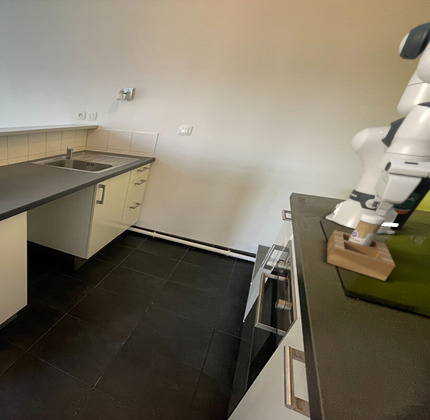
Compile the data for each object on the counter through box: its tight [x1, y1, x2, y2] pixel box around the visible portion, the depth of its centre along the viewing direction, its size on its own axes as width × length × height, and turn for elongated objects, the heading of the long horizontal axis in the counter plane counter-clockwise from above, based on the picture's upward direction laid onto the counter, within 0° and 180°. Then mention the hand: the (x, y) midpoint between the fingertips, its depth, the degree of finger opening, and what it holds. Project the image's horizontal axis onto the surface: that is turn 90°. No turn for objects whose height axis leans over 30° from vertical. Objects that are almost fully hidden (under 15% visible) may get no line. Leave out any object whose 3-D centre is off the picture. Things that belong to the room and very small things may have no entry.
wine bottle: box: [390, 174, 430, 230], centre depth 97 cm, size 8×8×30 cm
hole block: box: [326, 229, 396, 282], centre depth 75 cm, size 20×11×5 cm, turn 133°
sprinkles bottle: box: [348, 214, 386, 246], centre depth 76 cm, size 5×5×13 cm
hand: (377, 210), depth 73 cm, fingers open, 8 cm apart
